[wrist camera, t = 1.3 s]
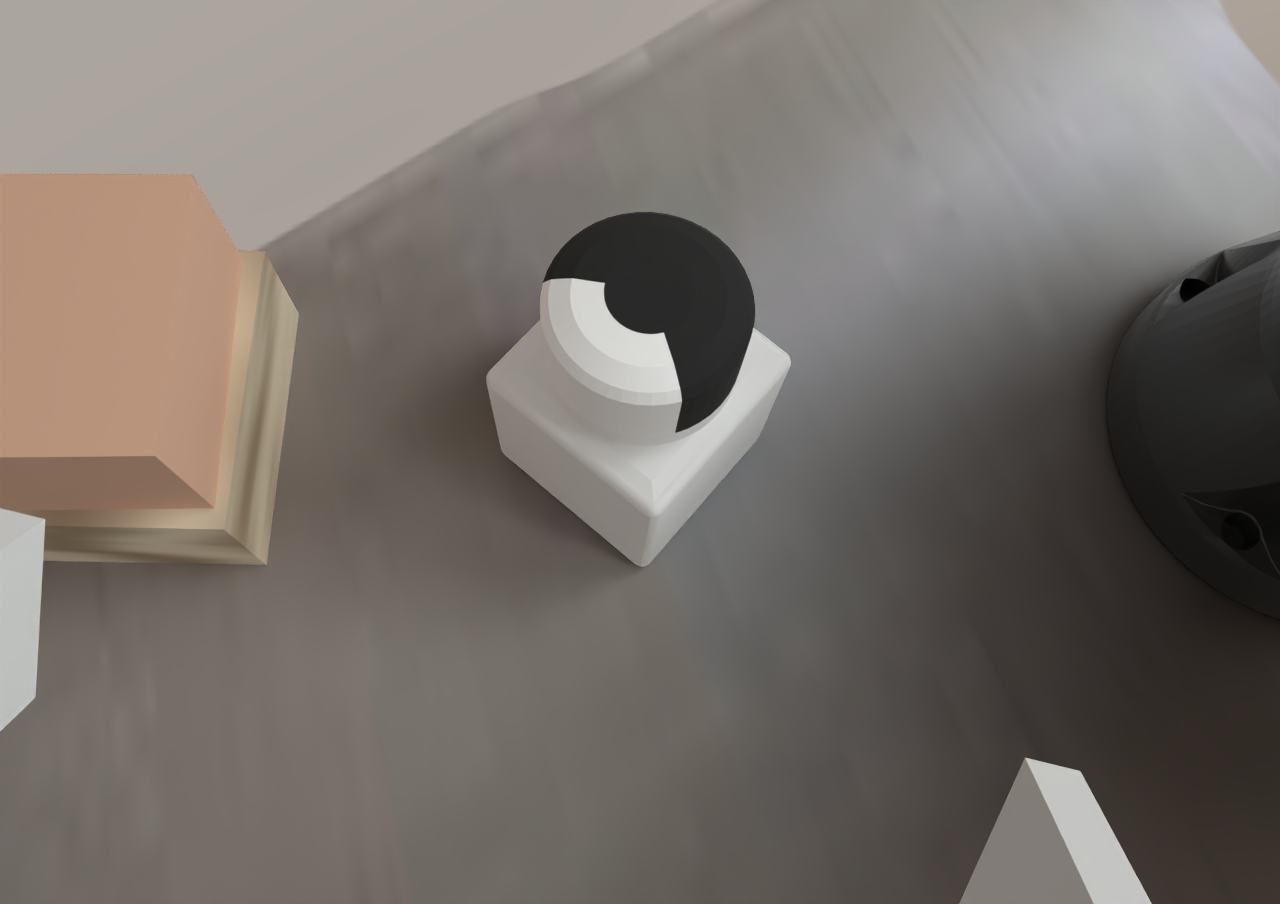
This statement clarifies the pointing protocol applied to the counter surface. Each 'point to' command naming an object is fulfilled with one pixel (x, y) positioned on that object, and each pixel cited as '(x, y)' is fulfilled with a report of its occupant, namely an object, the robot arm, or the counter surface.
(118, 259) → the top block
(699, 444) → the medicine bottle
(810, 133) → the counter surface
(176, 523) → the bottom block
